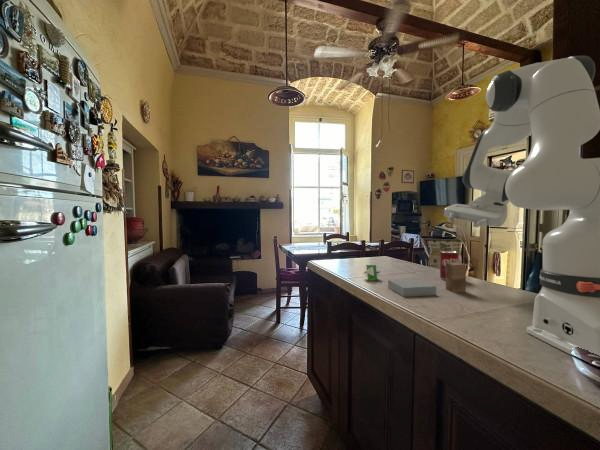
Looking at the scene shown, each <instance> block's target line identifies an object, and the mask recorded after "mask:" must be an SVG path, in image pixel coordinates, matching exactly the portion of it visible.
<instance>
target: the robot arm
mask: <svg viewBox="0 0 600 450" xmlns="http://www.w3.org/2000/svg"><path fill="white" fill-rule="evenodd" d="M595 75H596V64H595V62H594V60H593V59H592V58H591V57H590V56H588V55H573V56H571V55H570V56H569V57H565V58H564V57H563V58H560V59H553V60H547V61H541V62H535V63H532V64H527V65H524V66H521V67H518V68H515V69H514V68H513V69H511V70H510V69H508V70H504V71H503V72H500V73H498V74H496V75H494V76H493V77H492V79H491V80H490V81H489V83H488V85H487V86H488V87H487V89H486V93H485V101H486V104H487V108H488V109H489V110H491V112H494V117H493V122H492V123H491V125H490V126H489V127H487V128H485V129H484V130H483V131H482V132H481V133H480V135H479V137H478V139H477V141H476V143H475V145H474V148H473V150H472V153H471V156H470V158H469V161H468V164H467V166H466V168H465V170H464V173H463V174H462V177H461V181H462V183H463V185H464V187H465V188H467V189H473V190H479V191H481V192H484V193H483V194H482V195H480V196H478V197H477V198H475V199H474V200H471V201H470V202H469V204H463V203H462V204H461V203H455V204H454V203H452V204H451V205H448V206H446V207H445V208H444V209H443V213H444V214H443V216H444V217H445V218H447V219H446V220H447V222H450V223H452V222H454V220H459V221H465V222H469V223H473V224H472V227H474V228H479V227H484V226H490V227H494V228H498V227H502V226H503V225H504V224H505V222H506V220H507V219H508V218H507V217H508V204H509V202H510V203H511V204H512V205H513V206H514V207H517V208H521V209H528V210H535V211H565V210H566V211H569V214H568V216H567V218H566V220H565V221H564V222H563V224H562V225H560V226H558V227H557V228H554V229H552V230H550V231H548V232H547V233H545V235H544V237H543V239H542V268H541V269H540V270H539V271H540V272H539V273H540V274H539V284H540V285H541V289H540V290H539V292H538V294H537V295H536V296H535V298H534V305H533V313H532V314H533V315H532V323H531V325H530V326H527V327H526V333H528V334H529V335H531V336H532V337H535V338H537V339H539V340H541V341H542V342H544V343H547V344H549V345H551V346H553V347H555V348H557V349H559V350H560V351H563V352H565V353H566V354H568V355H571V352H572V351H573V349H572V348H573V347H579V348H582V349H585V350H588V351H589V352H591V353H594V354H597V355H599V356H600V157H594V158H583V157H581V155H580V149H579V148H580V146H582V145H584V144H586V143H587V142H589V141H590V140H593V138H594V137H595V136H596V135H598V133H599V131H600V105H599V102H598V97H597V93H596V90H595V87H594V84H593V82H594V80H595V79H594V78H595ZM530 134H531V140H532V141H531V147H530V151H529V154H528V156H527V157H526V159H525V160H524V161H523V162H522V163H521V164H520V165H519V166H517V167H516V168H514V170H513V171H509V170H505V169H503V168H502V169H501V168H496V167H492V166H488V165H486V164H484V161H485V158H486V156H487V154H488V151H489V150H490V149H492V148H497V147H506V146H510V145H513V144H516V143H519V142H521V141H522V140H524V139H526V138H527V137H528V136H530ZM571 356H572V355H571Z"/></svg>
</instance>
